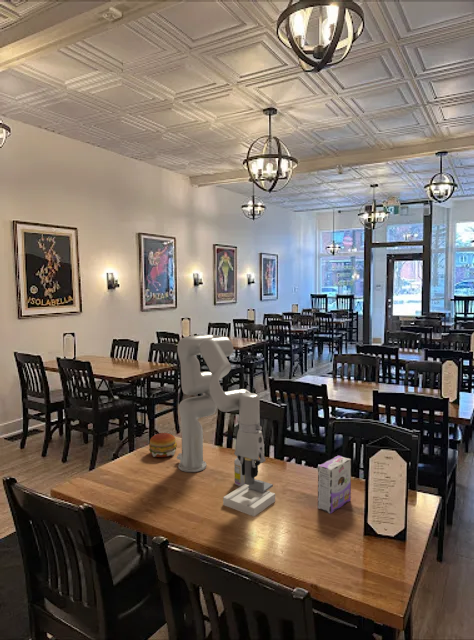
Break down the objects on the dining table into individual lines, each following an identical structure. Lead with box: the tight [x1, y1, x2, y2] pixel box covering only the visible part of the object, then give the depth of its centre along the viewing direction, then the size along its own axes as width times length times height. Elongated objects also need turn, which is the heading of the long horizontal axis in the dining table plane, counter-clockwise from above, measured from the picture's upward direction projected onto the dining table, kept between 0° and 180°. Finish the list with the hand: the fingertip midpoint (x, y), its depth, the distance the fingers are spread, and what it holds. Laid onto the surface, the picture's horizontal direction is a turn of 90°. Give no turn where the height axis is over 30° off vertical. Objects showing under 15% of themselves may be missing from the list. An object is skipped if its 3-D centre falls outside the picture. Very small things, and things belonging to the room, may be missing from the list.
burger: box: [148, 432, 178, 458], centre depth 214 cm, size 13×14×10 cm
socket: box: [222, 484, 276, 517], centre depth 166 cm, size 14×14×3 cm
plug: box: [245, 457, 255, 485], centre depth 165 cm, size 4×4×10 cm
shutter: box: [248, 478, 274, 493], centre depth 171 cm, size 7×7×4 cm
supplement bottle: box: [233, 456, 245, 487], centre depth 182 cm, size 7×7×13 cm
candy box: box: [317, 455, 352, 514], centre depth 164 cm, size 14×6×16 cm, turn 134°
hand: (249, 474), depth 165 cm, fingers closed on plug, 3 cm apart
